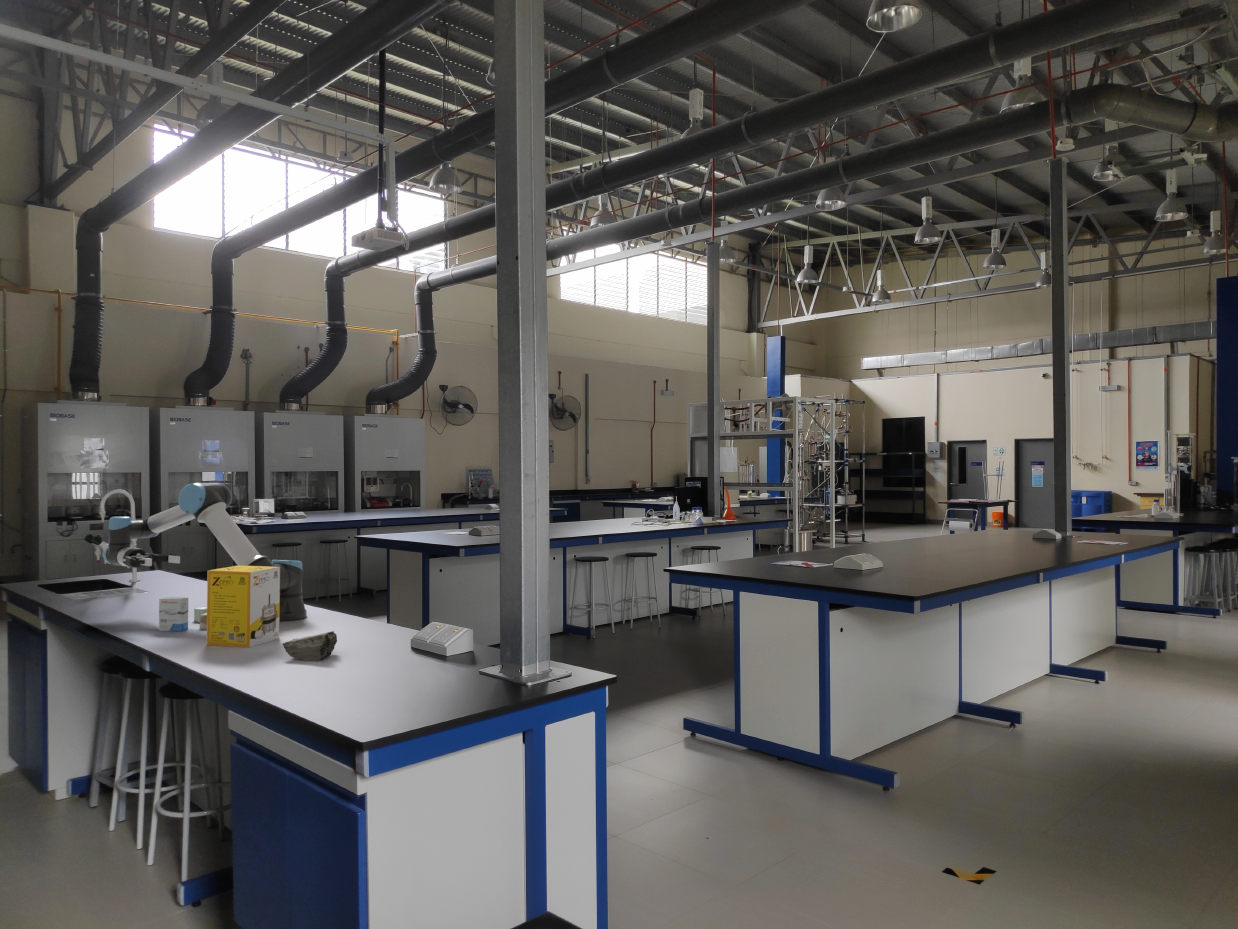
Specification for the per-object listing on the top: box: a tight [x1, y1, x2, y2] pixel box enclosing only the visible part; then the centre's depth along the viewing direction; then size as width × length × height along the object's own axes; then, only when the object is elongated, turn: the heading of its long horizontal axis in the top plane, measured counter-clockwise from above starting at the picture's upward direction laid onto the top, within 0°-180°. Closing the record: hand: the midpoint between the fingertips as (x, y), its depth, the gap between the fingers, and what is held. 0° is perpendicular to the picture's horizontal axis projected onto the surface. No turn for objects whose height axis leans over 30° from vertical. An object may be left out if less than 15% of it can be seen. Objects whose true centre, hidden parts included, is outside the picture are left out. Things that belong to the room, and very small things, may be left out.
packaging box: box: [205, 565, 280, 648], centre depth 278 cm, size 16×16×25 cm
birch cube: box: [199, 613, 207, 630], centre depth 302 cm, size 5×5×5 cm
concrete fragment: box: [282, 630, 338, 662], centre depth 256 cm, size 15×10×15 cm
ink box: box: [158, 596, 189, 632], centre depth 296 cm, size 8×5×12 cm, turn 84°
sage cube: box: [193, 606, 207, 623], centre depth 315 cm, size 5×5×5 cm
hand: (165, 561), depth 306 cm, fingers open, 10 cm apart
